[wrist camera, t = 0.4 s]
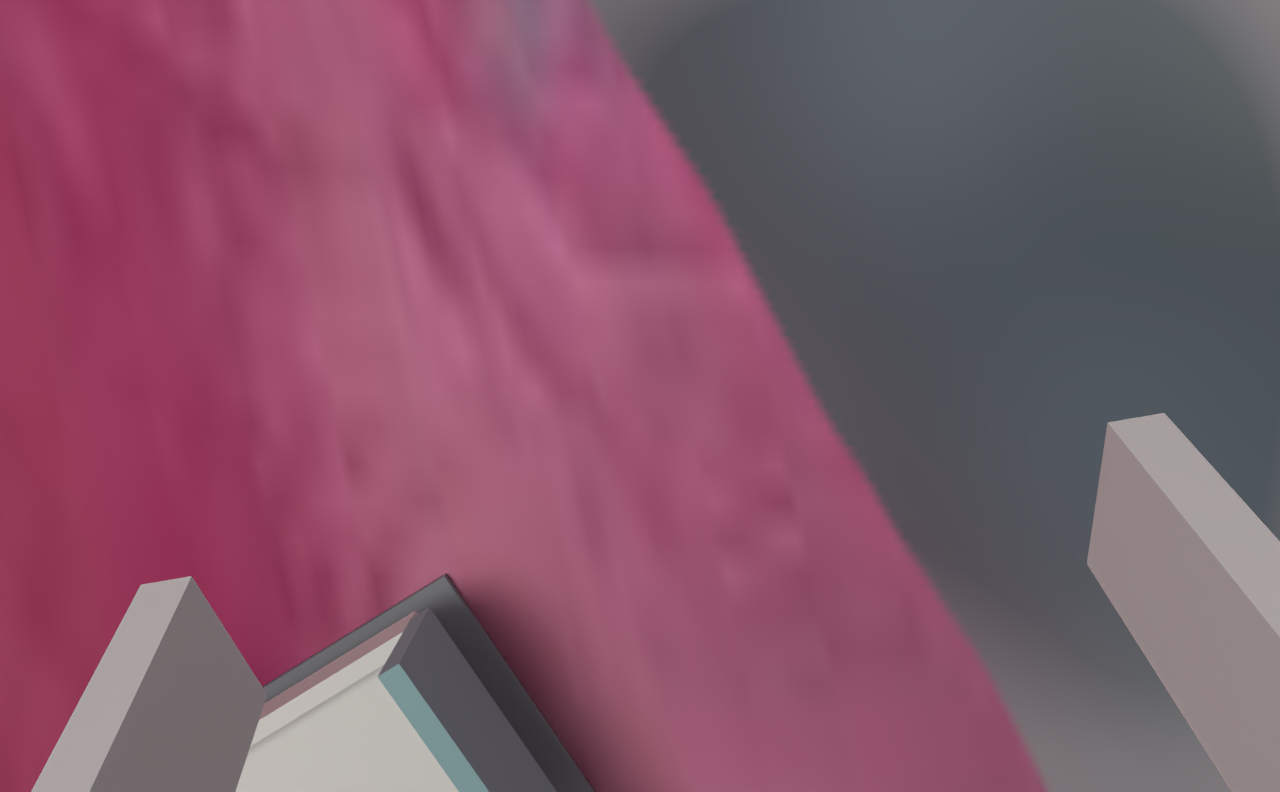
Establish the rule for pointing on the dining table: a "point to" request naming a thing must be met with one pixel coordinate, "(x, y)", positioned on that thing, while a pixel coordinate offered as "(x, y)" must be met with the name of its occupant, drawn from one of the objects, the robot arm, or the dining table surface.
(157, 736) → the robot arm
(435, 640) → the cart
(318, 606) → the dining table surface
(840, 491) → the dining table surface
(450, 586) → the track
